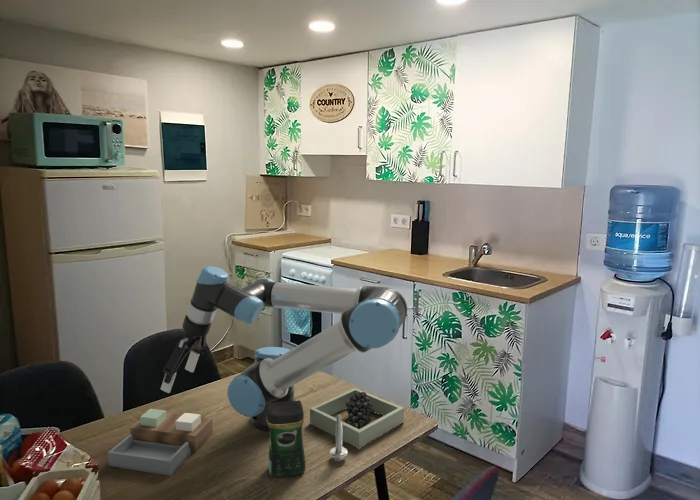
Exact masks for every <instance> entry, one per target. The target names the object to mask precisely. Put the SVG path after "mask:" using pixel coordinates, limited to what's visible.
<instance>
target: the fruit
mask: <svg viewBox="0 0 700 500" xmlns="http://www.w3.org/2000/svg"><path fill="white" fill-rule="evenodd" d="M366 393H367V392H366V391H364V392H357V393H355V396H351V397H350V401H348V402H346V406H347V407H348V408H346V412H347V420H346V421H347V424H349V425H351V426H353V427H355V428H357V429H361V428H363V427H365V426H366V425H365V423H367V422H368V420H369V419H370V417H371V415H372V414H373V413H374V412H373V409H372V408H371V407H372V403H371V402H369V401H370V399H369V397H366ZM360 399H361V400H360ZM357 400H360V402H359V401H357Z"/></svg>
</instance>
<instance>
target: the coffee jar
mask: <svg viewBox="0 0 700 500" xmlns="http://www.w3.org/2000/svg"><path fill="white" fill-rule="evenodd" d="M302 403H303V402H302V401H301V400H296V401H287V402H276V403H269V406H268V413H267V424H268V427H269V430H270V432H269V447H268V448H269V449H268V473H269V474H270V475H271V476H272V477H274V478H288V477H289V478H290V477H295V476H299V475H301V474H303V473H304V471H306V454H305V447H304V439H303V425H304V421H305V414H304V409H303V404H302Z"/></svg>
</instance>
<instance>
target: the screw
mask: <svg viewBox="0 0 700 500" xmlns="http://www.w3.org/2000/svg"><path fill="white" fill-rule="evenodd" d="M336 419H337V422H336V437H335V447H332V448H331V449H330V450H329V454H330V456H332V457H333V459H334V461H335V462H339V461H340V462H342V461H344V460H343V459H344V458H345V457H346V456H347V455H348V454H349V453H348V449H347V448H345V447H344V446H343V440H342V423H341V421H342V415H341V414H340V413H338V414H337V415H336ZM341 460H342V461H341Z"/></svg>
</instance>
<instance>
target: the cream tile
mask: <svg viewBox="0 0 700 500" xmlns="http://www.w3.org/2000/svg"><path fill="white" fill-rule="evenodd" d="M181 415H182V416H181V417H180V418H178V419H177V420H176V429H177V430H185V431H193V430H194V429H195V428H196V427H197V426H198V425H199V424H200V423H201V417H202V415H201V414H199V413H190V412H189V413H188V412H184V413H183V414H181Z"/></svg>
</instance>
